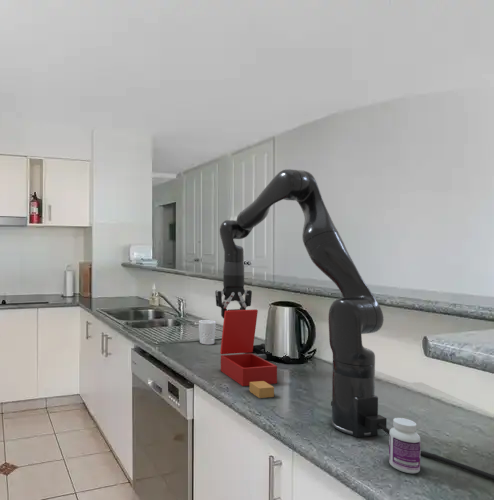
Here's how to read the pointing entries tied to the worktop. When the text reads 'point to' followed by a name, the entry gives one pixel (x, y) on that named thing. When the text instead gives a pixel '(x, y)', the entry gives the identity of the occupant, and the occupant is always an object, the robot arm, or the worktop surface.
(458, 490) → the worktop surface
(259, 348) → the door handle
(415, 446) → the pill bottle
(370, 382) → the robot arm
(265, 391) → the block
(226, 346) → the box lid
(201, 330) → the white cup
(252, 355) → the red open box
